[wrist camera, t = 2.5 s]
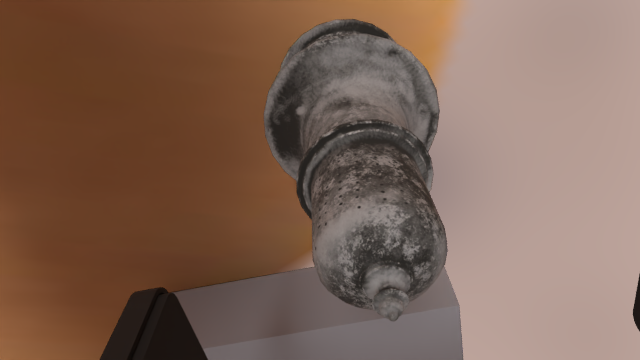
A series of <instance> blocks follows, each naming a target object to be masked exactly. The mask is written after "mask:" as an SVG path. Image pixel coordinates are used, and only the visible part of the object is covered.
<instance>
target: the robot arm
mask: <svg viewBox="0 0 640 360" xmlns="http://www.w3.org/2000/svg"><path fill="white" fill-rule="evenodd" d="M633 317H634V321H635V324H636V326H637V328H638V329H639V331H640V275H639V281H638V287H637V292H636V298H635V304H634V309H633ZM100 360H208V358H207V356H206V354H205V352H204V350H203V348H202V346H201V344H200V342H199V340H198V338H197V336H196V334H195V332H194V330H193V328H192V326H191V324H190V322H189V320H188V318H187V316H186V314H185V312H184V310H183V308H182V306H181V304H180V302H179V300H178V298H177V296H176V295H175V294H174V293H168V292H167V290H166V289H165V288H162V287H160V288H154V289H148V290H142V291H137V292H134V293H133V294H132V295H131V297H130V298H129V300H128V303H127V305H126V307H125V309H124V311H123V313H122V315H121V317H120V319H119V321H118V323H117V325H116V327H115V329H114V331H113V333H112V335H111V337H110V339H109V341H108V344H107V346H106V348H105V350H104V352H103V354H102V356H101V358H100Z"/></svg>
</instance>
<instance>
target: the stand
mask: <svg viewBox="0 0 640 360" xmlns="http://www.w3.org/2000/svg"><path fill="white" fill-rule="evenodd" d="M173 293H174V294H175V295H176V296H177V298H178V300H179V302H180V304H181V306H182V308H183V310H184V312H185V314H186V316H187V318H188V320H189V322H190V324H191V326H192V328H193V330H194V332H195V334H196V336H197V338H198V340H199V342H200V344H201V346H202V348H203V350H204V352H205V354H206V356H207V358H208V360H463V350H462V335H461V322H460V309H459V303H458V301H457V298H456V295H455V293H454V291H453V288H452V285H451V283H450V280H449V277H448V275H447V273H446V270H445V267H443V269H442V271H441V272H440V274H439V276H438V278H437V279H436V280H435V282H434V283H433V284H432V285H431V286H430V287H429V289H428V290H427V291H426V292H425V293H423V294H422V295H420V296H419V297H417V298H416V299H414V300H413V301H411V302H409V304H408V306H407V308H406V310H404V312H403V313H402V315H401V316H399V318H398V320H396V321H390V320H389V319H386V318H384V317H383V316H382V315H379V314H378V313H377V312H375V311H374V310H370V309H364V308H358V307H355V306H352V305H350V304H347V303H345V302H344V301H342V300H340V299H339V298H338V297H336V296H335V295H333V294H332V293H330V292H329V291H328V290H327V289H326V287H325V286H324V285H323V284H322V282H321V281H320V279H319V276H318V273H317V270H316V268H315V267H310V268H305V269H299V270H294V271H288V272H283V273H277V274H272V275H266V276H261V277H255V278H250V279H244V280H239V281H233V282H228V283H222V284H217V285H211V286H206V287H200V288H195V289H189V290H184V291H178V292H173Z"/></svg>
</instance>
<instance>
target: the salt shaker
mask: <svg viewBox="0 0 640 360" xmlns="http://www.w3.org/2000/svg"><path fill="white" fill-rule="evenodd" d="M439 112H440V110H439V103H438V97H437V90H436V88H435V86H434V84H433V81H432V79H431V77H430V75H429V73H428V71H427V69H426V68H425V67H424V66H423V65H422V64H421V63H420V61H419V60H418V59H417V58H416V57H415V56H414V55H413V54H412V53H411V52H410V51H408V50H407V49H405V48H403V47H402V46H400V45H398V44H397V43H396V42H395V41H394V40H393V39H392V38H391V37H390V36H389V35H388V33H386V32H384V31H383V30H381V29H379V28H378V27H376V26H374V25H373V24H370V23H366V22H362V21H358V20H355V19H349V20H333V21H330V22H326V23H323V24H320V25H317V26H315V27H314V28H312V29H311V30H309V31H307V32H306V33H304V34H303V35H301V37H300V38H299V39H298V40H297V41H296V42H295V43H294V44H293V45H292V46H291V47H290V49H289V50H288V52H287V54H286V56H285V58H284V60H283V62H282V64H281V69H280V71H279V73H278V75H277V76H276V78H275V80H274V82H273V84H272V86H271V88H270V90H269V92H268V96H267V101H266V106H265V111H264V125H265V136H266V139H267V141H268V144H269V147H270V149H271V152H272V155H273V156H274V158H275V159H276V160H277V162H278V163H279V164H280V166H281V167H282V168H283V170H284V171H285V172H286V173H287V174H289V175H290V176H291V177H292V178H294V179H295V180H296V181H297V195H298V198H299V201H300V203H301V206H302V208H303V209H304V211H305V212H306V213H307V215H308V216H309V217H310V219H311V220H312V249H313V262H314V265H315V268H316V270H317V273H318V276H319V279H320V281H321V282H322V284H323V285H324V286H325V287H326V289H327V290H328V291H329V292H330V293H332V294H333V295H335V296H336V297H338V298H339V299H340V300H342V301H344V302H345V303H347V304H350V305H352V306H355V307H358V308H364V309H370V310H374V311H375V312H377V313H378V314H379V315H382V316H383V317H384V318H386V319H389V320H390V321H396V320H398V318H399V316H401V315H402V313H403V312H404V310H406V308H407V306H408V304H409V302H411V301H413V300H414V299H416V298H417V297H419V296H420V295H422V294H423V293H425V292H426V291H427V290H428V289H429V287H430V286H431V285H432V284H433V283H434V282H435V280H436V279H437V278H438V276H439V274H440V272H441V271H442V269H443V267H444V265H445V261H446V256H447V240H446V233H445V228H444V225H443V223H442V221H441V219H440V216H439V214H438V212H437V209H436V207H435V205H434V202H433V200H432V198H431V196H430V193H429V192H430V190H431V187H432V180H433V167H432V161H431V157H430V155H429V153H428V151H429V149H430V147H431V145H432V142H433V140H434V137H435V135H436V133H437V127H438V119H439Z"/></svg>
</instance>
